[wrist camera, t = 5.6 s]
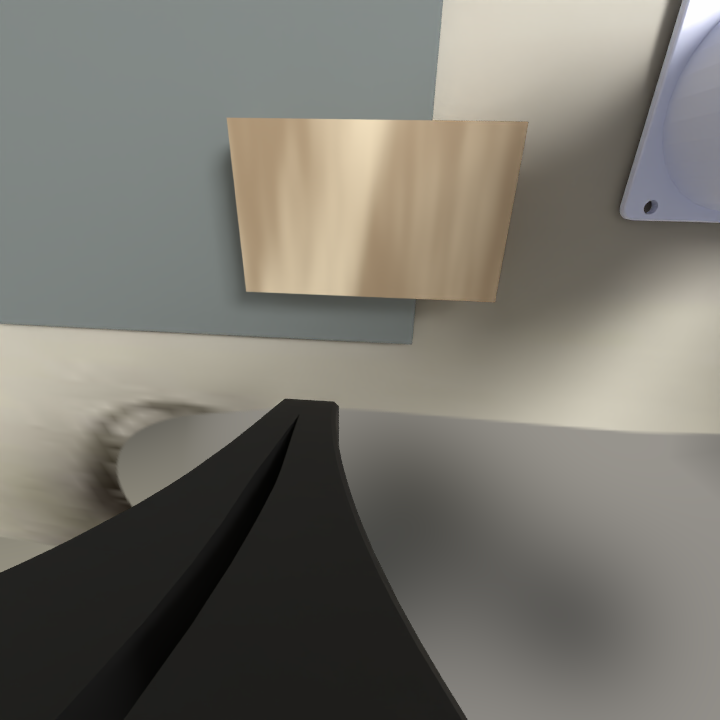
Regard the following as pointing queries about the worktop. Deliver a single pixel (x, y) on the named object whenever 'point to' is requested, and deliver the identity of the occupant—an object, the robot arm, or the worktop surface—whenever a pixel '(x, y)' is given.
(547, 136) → the worktop surface
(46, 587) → the robot arm
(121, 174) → the rubber mat
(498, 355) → the worktop surface
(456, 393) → the worktop surface
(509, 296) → the worktop surface
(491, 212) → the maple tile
